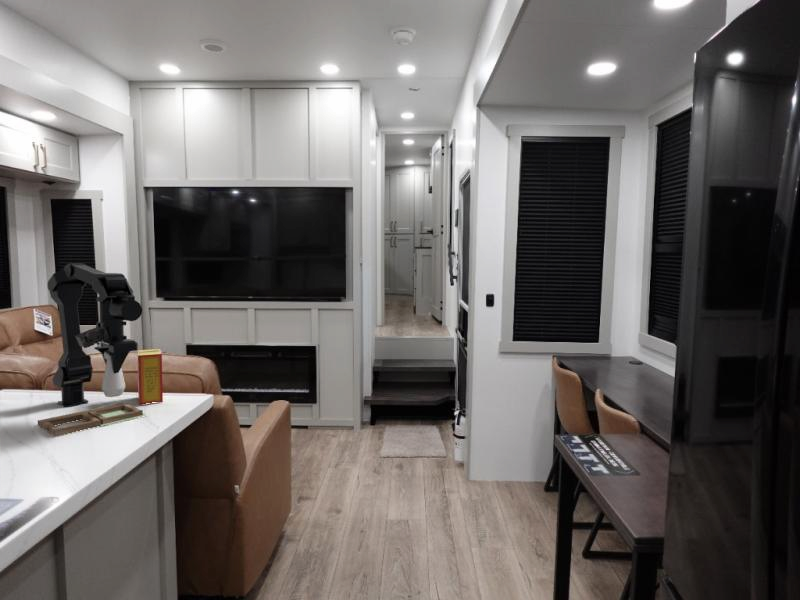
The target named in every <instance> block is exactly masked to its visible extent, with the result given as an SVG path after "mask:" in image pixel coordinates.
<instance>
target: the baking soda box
mask: <svg viewBox="0 0 800 600" xmlns="http://www.w3.org/2000/svg"><path fill="white" fill-rule="evenodd" d="M136 351H137V383H138V384H137V388H138V391H137V392H138V405H139V406H143V405H142V404H146V403H152V402H163V403H164V401H163V400H164V399H163V398H164V397H163V396H164V395H163V393H164V392H163V357H162V356H163V355H162V351H161V349H160V348H151V349H150V348H149V349H138V350H136Z"/></svg>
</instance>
